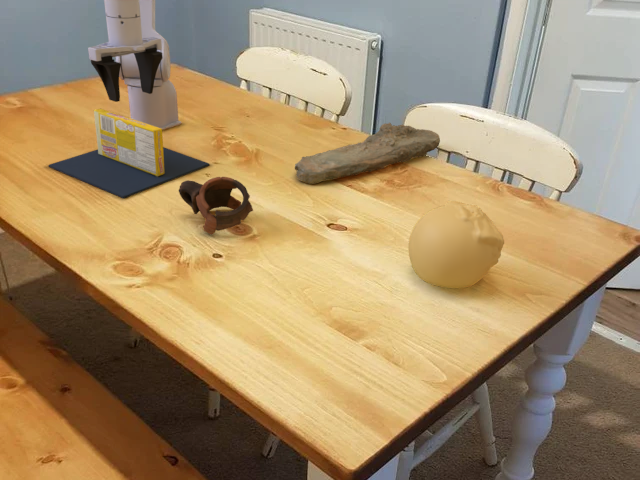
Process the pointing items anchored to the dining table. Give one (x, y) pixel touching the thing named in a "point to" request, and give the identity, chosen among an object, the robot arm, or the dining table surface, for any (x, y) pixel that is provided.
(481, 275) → the sculpture
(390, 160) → the long grey stone
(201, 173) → the dining table surface
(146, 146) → the candy box
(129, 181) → the cloth
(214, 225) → the brown curved ring piece
